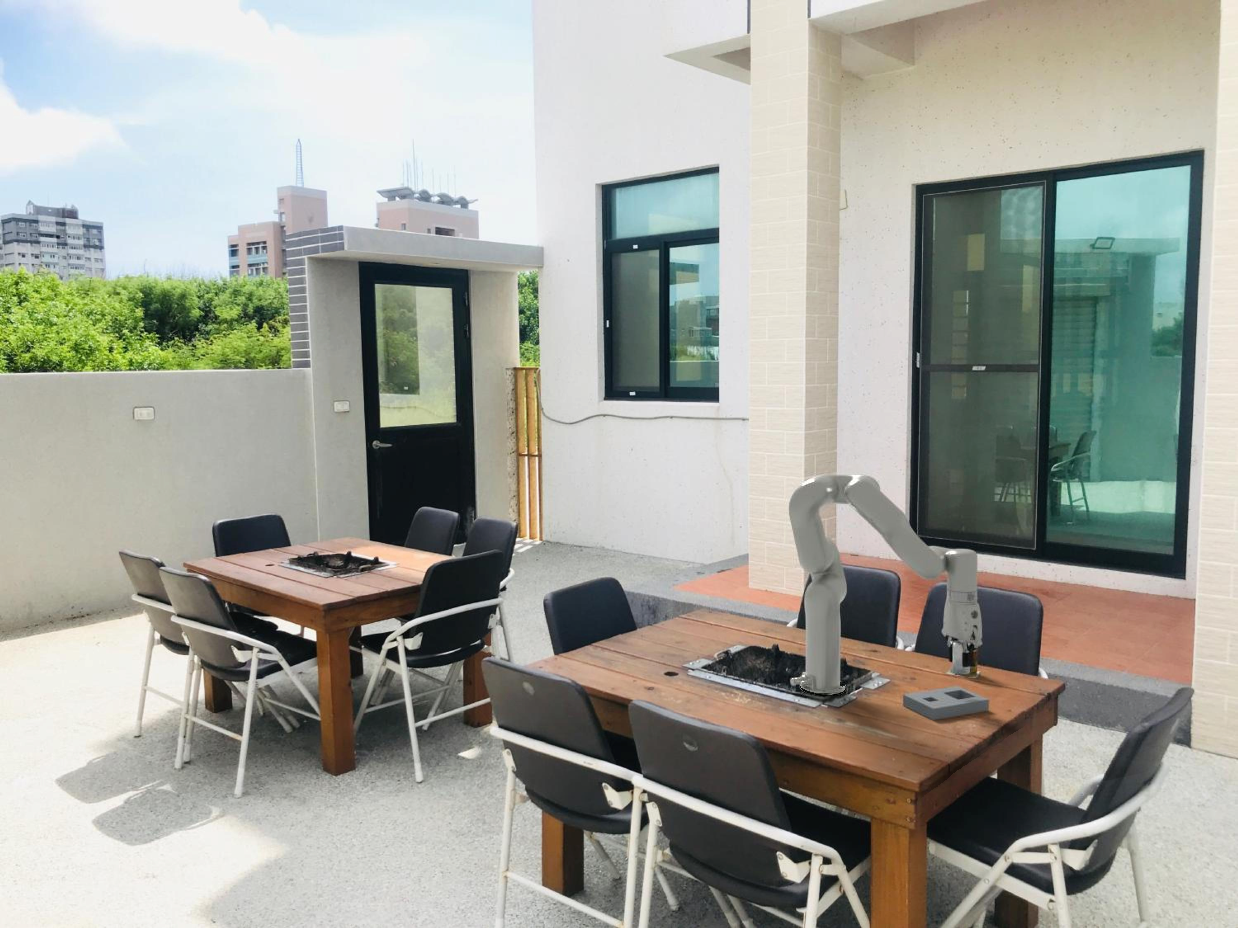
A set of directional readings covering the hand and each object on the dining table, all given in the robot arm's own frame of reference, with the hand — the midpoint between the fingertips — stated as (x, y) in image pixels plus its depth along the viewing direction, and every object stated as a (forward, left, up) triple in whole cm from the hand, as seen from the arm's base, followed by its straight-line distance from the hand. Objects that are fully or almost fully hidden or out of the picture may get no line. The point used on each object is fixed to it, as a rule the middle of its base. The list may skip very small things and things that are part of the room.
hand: (961, 663), depth 257 cm
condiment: (+20, +22, -12) cm, 32 cm away
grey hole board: (-5, 0, -12) cm, 12 cm away
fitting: (0, 0, -2) cm, 2 cm away
